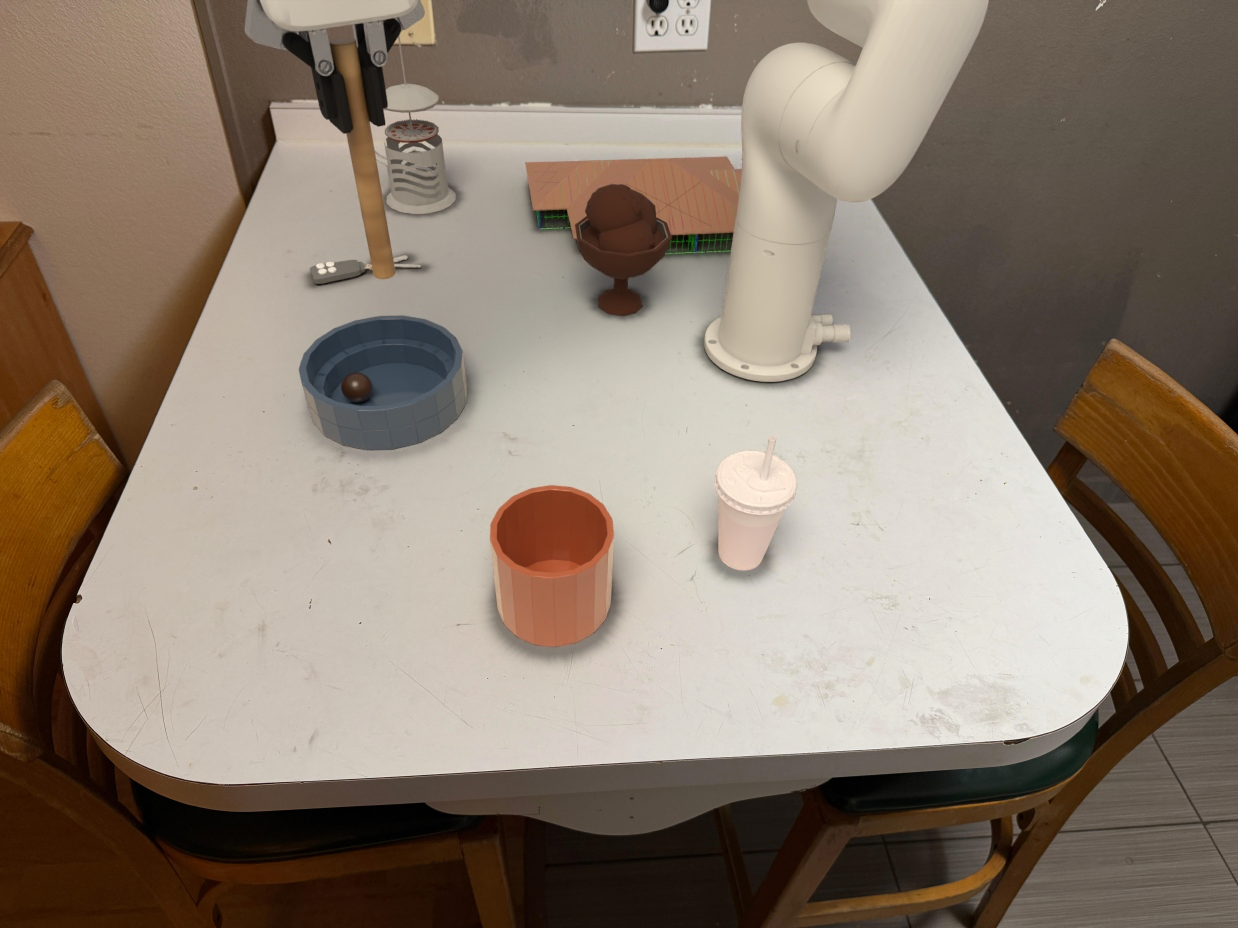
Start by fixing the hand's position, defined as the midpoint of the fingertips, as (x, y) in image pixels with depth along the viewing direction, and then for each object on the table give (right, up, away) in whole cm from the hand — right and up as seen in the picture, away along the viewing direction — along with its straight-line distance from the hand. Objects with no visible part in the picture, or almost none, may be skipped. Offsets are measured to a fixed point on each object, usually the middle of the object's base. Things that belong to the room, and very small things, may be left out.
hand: (356, 121), depth 59 cm
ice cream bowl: (+19, -6, +39) cm, 44 cm away
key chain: (-12, -1, +42) cm, 44 cm away
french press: (-10, +13, +57) cm, 59 cm away
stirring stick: (0, -9, +9) cm, 13 cm away
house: (+23, +10, +55) cm, 61 cm away
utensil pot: (+14, -36, +7) cm, 39 cm away
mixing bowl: (-4, -19, +24) cm, 31 cm away
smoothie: (+30, -33, +11) cm, 46 cm away
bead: (-7, -18, +23) cm, 30 cm away
